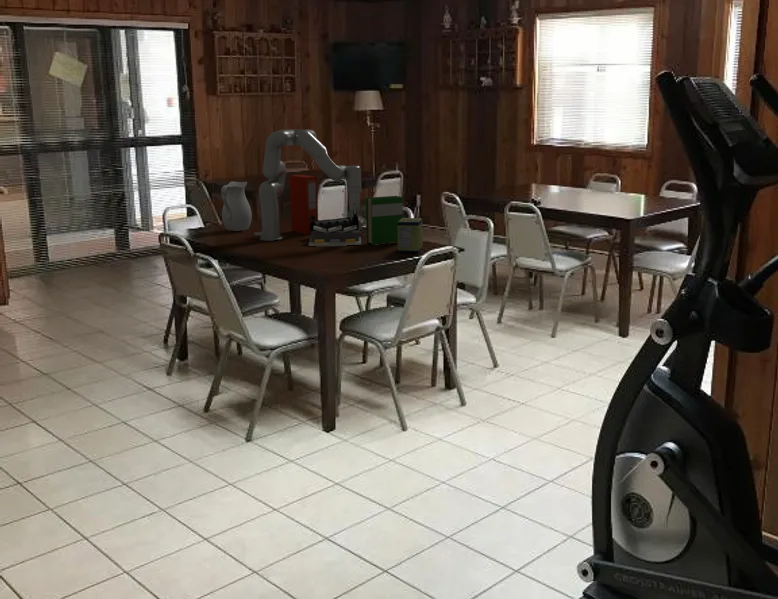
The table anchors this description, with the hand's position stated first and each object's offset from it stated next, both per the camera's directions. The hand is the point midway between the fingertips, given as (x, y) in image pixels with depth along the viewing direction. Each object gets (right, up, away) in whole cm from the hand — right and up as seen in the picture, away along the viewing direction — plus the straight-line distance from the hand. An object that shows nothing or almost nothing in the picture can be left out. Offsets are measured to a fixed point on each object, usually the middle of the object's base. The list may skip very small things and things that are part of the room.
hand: (355, 224), depth 445 cm
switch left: (-19, -2, 0) cm, 19 cm away
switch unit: (-11, -10, +1) cm, 14 cm away
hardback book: (+15, -10, -2) cm, 19 cm away
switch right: (-3, -2, 0) cm, 4 cm away
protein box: (+28, -16, -25) cm, 41 cm away
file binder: (-30, -1, +37) cm, 48 cm away
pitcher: (-72, 0, +43) cm, 84 cm away
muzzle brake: (-12, -5, +21) cm, 25 cm away
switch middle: (-11, -2, 0) cm, 11 cm away
